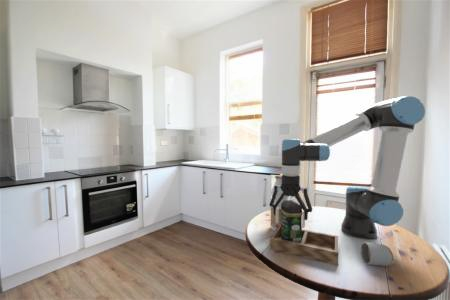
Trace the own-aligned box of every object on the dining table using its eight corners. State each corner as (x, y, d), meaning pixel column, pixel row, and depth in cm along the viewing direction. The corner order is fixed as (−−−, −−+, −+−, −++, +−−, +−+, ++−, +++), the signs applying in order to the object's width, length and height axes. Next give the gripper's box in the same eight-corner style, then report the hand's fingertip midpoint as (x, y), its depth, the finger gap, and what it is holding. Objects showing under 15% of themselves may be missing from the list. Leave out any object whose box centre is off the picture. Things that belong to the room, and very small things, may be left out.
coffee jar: (278, 238, 100) (278, 199, 99) (295, 237, 100) (295, 198, 99) (286, 249, 90) (286, 205, 89) (305, 248, 91) (305, 204, 90)
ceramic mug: (394, 270, 77) (395, 249, 77) (370, 268, 78) (370, 248, 78) (377, 255, 88) (377, 236, 87) (355, 253, 89) (356, 235, 88)
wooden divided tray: (337, 247, 93) (338, 235, 93) (338, 265, 80) (338, 252, 80) (278, 235, 105) (278, 225, 105) (269, 249, 92) (270, 238, 91)
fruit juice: (267, 230, 111) (267, 176, 110) (274, 224, 119) (275, 173, 117) (285, 234, 106) (285, 178, 104) (291, 228, 113) (292, 175, 112)
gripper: (320, 175, 92) (319, 226, 93) (267, 171, 102) (266, 217, 103) (318, 178, 85) (317, 233, 86) (262, 174, 96) (262, 222, 97)
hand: (290, 224), depth 95 cm, fingers open, 10 cm apart
